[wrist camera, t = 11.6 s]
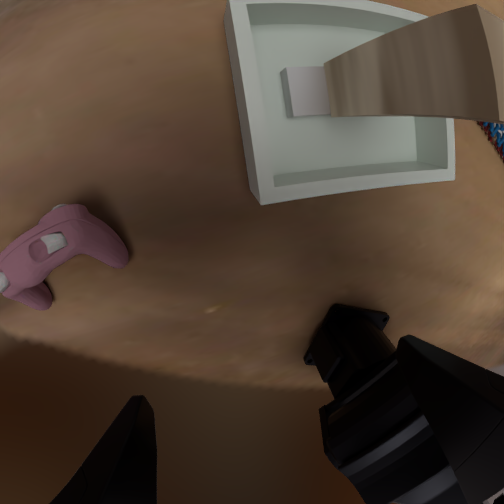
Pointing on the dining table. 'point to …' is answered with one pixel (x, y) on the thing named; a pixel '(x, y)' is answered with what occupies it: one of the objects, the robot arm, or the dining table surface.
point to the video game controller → (55, 252)
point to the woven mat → (495, 135)
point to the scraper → (410, 73)
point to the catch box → (322, 126)
